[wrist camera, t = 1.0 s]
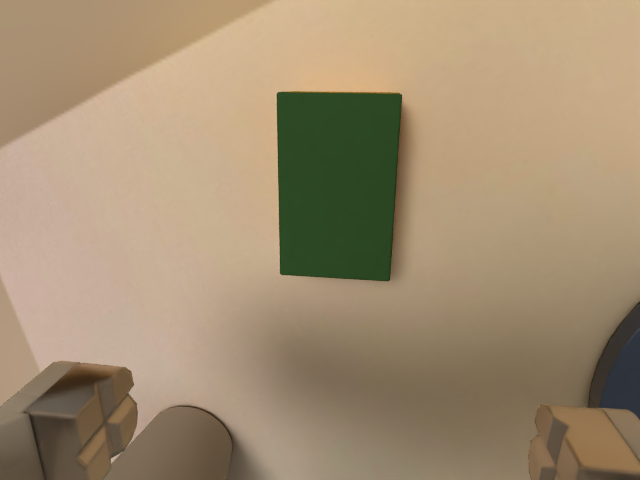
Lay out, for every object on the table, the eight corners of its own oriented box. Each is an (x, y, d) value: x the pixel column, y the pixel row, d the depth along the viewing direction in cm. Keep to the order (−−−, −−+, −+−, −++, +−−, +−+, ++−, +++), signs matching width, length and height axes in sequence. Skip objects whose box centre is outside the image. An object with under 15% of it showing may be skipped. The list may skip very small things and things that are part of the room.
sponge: (294, 91, 22) (276, 92, 18) (398, 92, 21) (401, 93, 17) (295, 246, 24) (279, 275, 21) (388, 251, 24) (389, 282, 20)
